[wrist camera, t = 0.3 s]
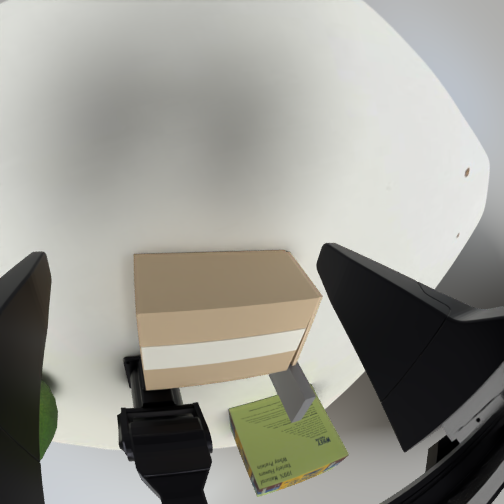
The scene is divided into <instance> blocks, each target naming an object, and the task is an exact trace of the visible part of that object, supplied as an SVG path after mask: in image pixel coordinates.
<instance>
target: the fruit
mask: <svg viewBox="0 0 504 504" xmlns="http://www.w3.org/2000/svg"><path fill="white" fill-rule="evenodd" d="M57 418H58V410H57V406H56V401H55V398H54V396H53V394H52V392H51V390H50V388H49V386H48V385H47V384H46V383H45V382H44V381H42V380H41V390H40V412H39V444H40V460H41V459H42V458H43V456H44V454H45V452H46V450H47V448H48V447H49V445H50V443H51V441H52V439H53V437H54V434H55V431H56V428H57Z"/></svg>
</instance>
